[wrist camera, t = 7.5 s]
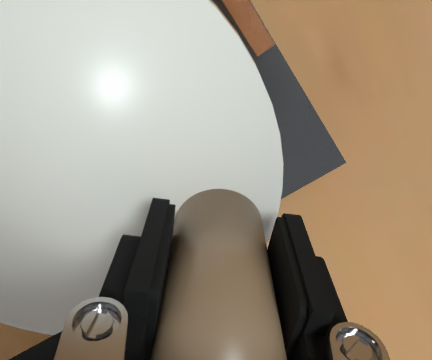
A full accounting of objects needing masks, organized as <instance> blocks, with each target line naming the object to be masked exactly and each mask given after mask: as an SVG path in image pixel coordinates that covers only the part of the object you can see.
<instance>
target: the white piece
mask: <svg viewBox="0 0 432 360" xmlns="http://www.w3.org/2000/svg"><path fill="white" fill-rule="evenodd" d="M282 189H283V155H282V146H281V137H280V132H279V128H278V124H277V120H276V116H275V113H274V109H273V105H272V102H271V100H270V97H269V95H268V93H267V90H266V88H265V85H264V83H263V81H262V78H261V76H260V73H259V71H258V69H257V67H256V64H255V62H254V60H253V58H252V56H251V55H250V53H249V51H248V49H247V48H246V46H245V44H244V43H243V41H242V39H241V37H240V36H239V34H238V32H237V31H236V30H235V28H234V27H233V26H232V24H231V23H230V22H229V21H228V19H227V18H226V17H225V15H224V14H223V13H222V12H221V10H220V9H219V8H218V6H217V5H216V4H215V3H214V2H213V1H212V0H0V323H2V324H6V325H9V326H13V327H16V328H19V329H23V330H28V331H33V332H37V333H42V334H48V335H55V334H57V333H59V332H61V331H62V330H63V327H64V324H65V320H66V318H67V316H68V314H69V312H70V311H71V310H72V309H73V308H74V307H75V306H76V305H78V304H80V303H81V302H83V301H85V300H88V299H91V298H95V297H98V296H99V294H100V291H101V289H102V286H103V283H104V281H105V278H106V276H107V273H108V270H109V268H110V265H111V263H112V260H113V257H114V255H115V252H116V249H117V247H118V244H119V242H120V239H121V237H122V235H123V234H124V235H133V236H141V235H142V232H143V228H144V225H145V222H146V219H147V215H148V212H149V209H150V205H151V202H152V199H153V198H160V199H169V200H170V204H174V205H176V207H175V217H174V227H173V237H172V243H171V249H170V254H169V260H168V266H167V271H166V277H165V282H164V288H163V293H162V299H161V305H160V310H159V316H158V321H157V327H156V332H155V338H154V343H153V348H152V354H151V359H150V360H287V357H286V352H285V346H284V341H283V335H282V330H281V324H280V318H279V313H278V307H277V302H276V296H275V291H274V285H273V280H272V274H271V269H270V263H269V258H268V252H267V247H266V244H267V242H268V240H269V238H270V235H271V233H272V230H273V227H274V224H275V220H276V218H277V216H278V211H279V206H280V200H281V195H282Z"/></svg>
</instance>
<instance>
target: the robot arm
mask: <svg viewBox="0 0 432 360" xmlns="http://www.w3.org/2000/svg"><path fill="white" fill-rule="evenodd" d="M175 207H176V205H174V204H170V200H169V199H160V198H153V199H152V202H151V205H150V209H149V212H148V215H147V219H146V222H145V225H144V228H143V232H142V235H141V236H133V235H124V234H123V235H122V237H121V239H120V242H119V244H118V247H117V249H116V252H115V255H114V257H113V260H112V263H111V265H110V268H109V270H108V273H107V276H106V278H105V281H104V283H103V286H102V289H101V291H100V294H99V296H98V297H95V298H91V299H88V300H85V301H83V302H81V303H80V304H78V305H76V306H75V307H74V308H73V309H72V310H71V311H70V312H69V314H68V316H67V318H66V320H65V324H64V327H63V330H62V331H61V332H59V333H57V334H55V335H54V336H52V337H50V338H48V339H46V340H44V341H42V342H41V343H39V344H37V345H35V346H33V347H31V348H30V349H28V350H26V351H24V352H22V353H20V354H18V355H17V356H15V357H13V358H11V359H9V360H150V359H151V354H152V348H153V343H154V338H155V332H156V327H157V321H158V316H159V310H160V305H161V299H162V293H163V288H164V282H165V277H166V271H167V266H168V260H169V254H170V249H171V243H172V237H173V227H174V217H175ZM267 252H268V258H269V263H270V269H271V274H272V280H273V285H274V291H275V296H276V302H277V307H278V313H279V318H280V324H281V330H282V335H283V341H284V346H285V352H286V357H287V360H390V358H389V355H388V352H387V350H386V348H385V346H384V344H383V343H382V341H381V340H380V339H379V338H378V336H376V335H375V334H374V333H373V332H372V331H370V330H369V329H367V328H365V327H363V326H362V325H359V324H356V323H352V322H348V321H347V319H346V316H345V314H344V311H343V308H342V306H341V303H340V300H339V298H338V295H337V293H336V290H335V287H334V285H333V282H332V279H331V277H330V274H329V272H328V269H327V266H326V264H325V261H324V259H323V258H322V257H317V256H315V254H314V251H313V248H312V245H311V242H310V240H309V237H308V234H307V231H306V228H305V225H304V223H303V220H302V217H301V216H300V215H293V214H283V215H282V217H277V218H276V220H275V224H274V227H273V231H272V235H271V239H270V242H269V246H268V250H267Z"/></svg>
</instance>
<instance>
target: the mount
mask: <svg viewBox="0 0 432 360" xmlns="http://www.w3.org/2000/svg"><path fill="white" fill-rule="evenodd" d="M212 1H213V2H214V3H215V4H216V5H217V6H218V8H219V9H220V10H221V12H222V13H223V14H224V15H225V17H226V18H227V19H228V21H229V22H230V23H231V24H232V26H233V27H234V28H235V30H236V31H237V32H238V34H239V36H240V37H241V39H242V41H243V43H244V44H245V46H246V48H247V49H248V51H249V53H250V55H251V56H252V58H253V60H254V62H255V64H256V67H257V69H258V71H259V73H260V76H261V78H262V81H263V83H264V85H265V88H266V90H267V93H268V95H269V97H270V100H271V102H272V105H273V109H274V113H275V116H276V120H277V124H278V128H279V132H280V137H281V146H282V155H283V189H282V195H281V199H282V198H284V197H286V196H287V195H289V194H291V193H293V192H295V191H296V190H298V189H300V188H302V187H303V186H305V185H307V184H309V183H311V182H312V181H314V180H316V179H318V178H319V177H321V176H323V175H325V174H327V173H328V172H330V171H332V170H334V169H336V168H337V167H339V166H341V165H343V164H344V163H346V162H345V160H344V158H343V157H342V155H341V153H340V152H339V150H338V148H337V146H336V145H335V143H334V141H333V140H332V138H331V136H330V135H329V133H328V131H327V130H326V128H325V126H324V125H323V123H322V121H321V120H320V118H319V116H318V114H317V113H316V111H315V109H314V108H313V106H312V104H311V103H310V101H309V99H308V98H307V96H306V94H305V93H304V91H303V89H302V88H301V86H300V84H299V82H298V81H297V79H296V77H295V76H294V74H293V72H292V71H291V69H290V67H289V66H288V64H287V62H286V61H285V59H284V57H283V56H282V54H281V52H280V50H279V49H278V47H277V45H276V44H275V42H274V40H273V39H272V37H271V35H270V34H269V32H268V30H267V29H266V27H265V25H264V24H263V22H262V20H261V18H260V17H259V15H258V13H257V12H256V10H255V8H254V7H253V5H252V3H251V2H250V0H212Z"/></svg>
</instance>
